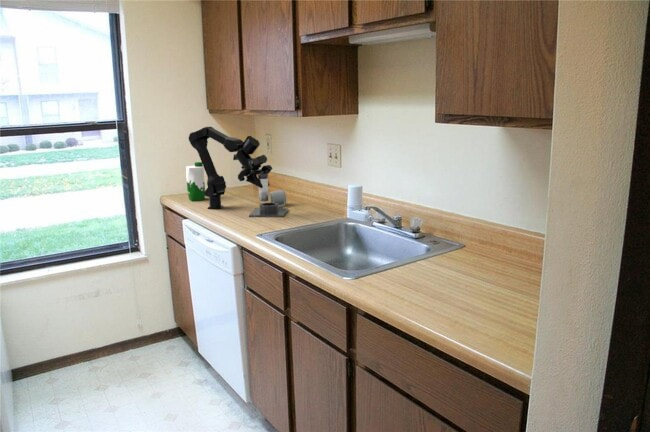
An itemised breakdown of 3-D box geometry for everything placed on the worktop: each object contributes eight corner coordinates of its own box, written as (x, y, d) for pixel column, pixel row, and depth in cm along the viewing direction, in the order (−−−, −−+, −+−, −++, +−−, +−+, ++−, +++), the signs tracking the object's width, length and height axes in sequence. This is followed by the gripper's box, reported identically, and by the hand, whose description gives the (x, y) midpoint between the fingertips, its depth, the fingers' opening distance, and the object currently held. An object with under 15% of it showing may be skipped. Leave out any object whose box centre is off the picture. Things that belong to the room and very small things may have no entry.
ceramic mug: (267, 204, 264) (266, 189, 262) (282, 203, 267) (282, 188, 265) (273, 208, 255) (272, 193, 253) (289, 207, 258) (288, 192, 256)
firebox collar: (255, 209, 252) (255, 200, 251) (288, 209, 251) (288, 201, 250) (248, 216, 236) (248, 207, 235) (283, 217, 235) (283, 207, 234)
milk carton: (206, 200, 276) (204, 163, 272) (189, 201, 273) (187, 164, 268) (203, 197, 284) (201, 161, 280) (186, 199, 280) (184, 162, 276)
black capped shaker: (258, 200, 240) (257, 173, 237) (267, 199, 241) (266, 173, 238) (259, 201, 235) (258, 174, 233) (269, 201, 237) (268, 174, 234)
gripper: (241, 151, 228) (261, 177, 224) (268, 147, 243) (287, 172, 239) (229, 167, 234) (248, 194, 230) (256, 163, 249) (274, 188, 245)
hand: (265, 186), depth 236 cm, fingers closed on black capped shaker, 4 cm apart
